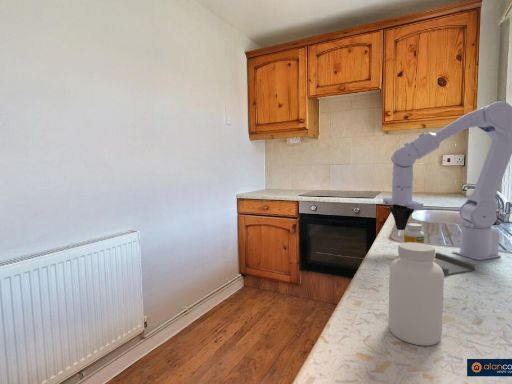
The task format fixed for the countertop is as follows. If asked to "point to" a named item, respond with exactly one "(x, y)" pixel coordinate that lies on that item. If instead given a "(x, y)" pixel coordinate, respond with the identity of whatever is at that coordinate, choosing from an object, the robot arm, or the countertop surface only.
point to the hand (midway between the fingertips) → (400, 229)
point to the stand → (452, 264)
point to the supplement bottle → (414, 233)
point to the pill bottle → (416, 295)
